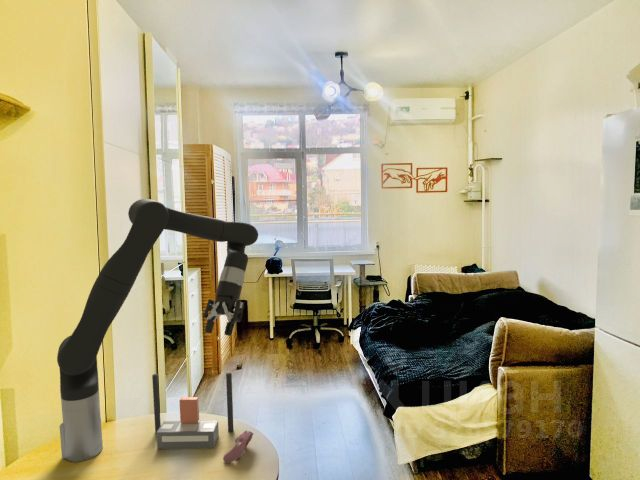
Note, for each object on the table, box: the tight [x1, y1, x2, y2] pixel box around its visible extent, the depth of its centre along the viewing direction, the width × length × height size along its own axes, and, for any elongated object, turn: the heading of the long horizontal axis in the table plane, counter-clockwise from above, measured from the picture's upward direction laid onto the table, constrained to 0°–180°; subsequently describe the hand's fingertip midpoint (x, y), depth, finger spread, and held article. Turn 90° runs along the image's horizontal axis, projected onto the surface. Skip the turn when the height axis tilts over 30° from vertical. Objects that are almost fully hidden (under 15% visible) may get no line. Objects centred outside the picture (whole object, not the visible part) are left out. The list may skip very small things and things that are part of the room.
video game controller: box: [222, 429, 255, 464], centre depth 120 cm, size 10×5×7 cm, turn 168°
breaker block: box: [155, 420, 220, 450], centre depth 126 cm, size 16×6×5 cm, turn 90°
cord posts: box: [151, 372, 235, 434], centre depth 132 cm, size 24×2×18 cm, turn 90°
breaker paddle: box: [179, 396, 200, 423], centre depth 128 cm, size 5×2×7 cm, turn 90°
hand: (217, 334), depth 134 cm, fingers open, 8 cm apart
